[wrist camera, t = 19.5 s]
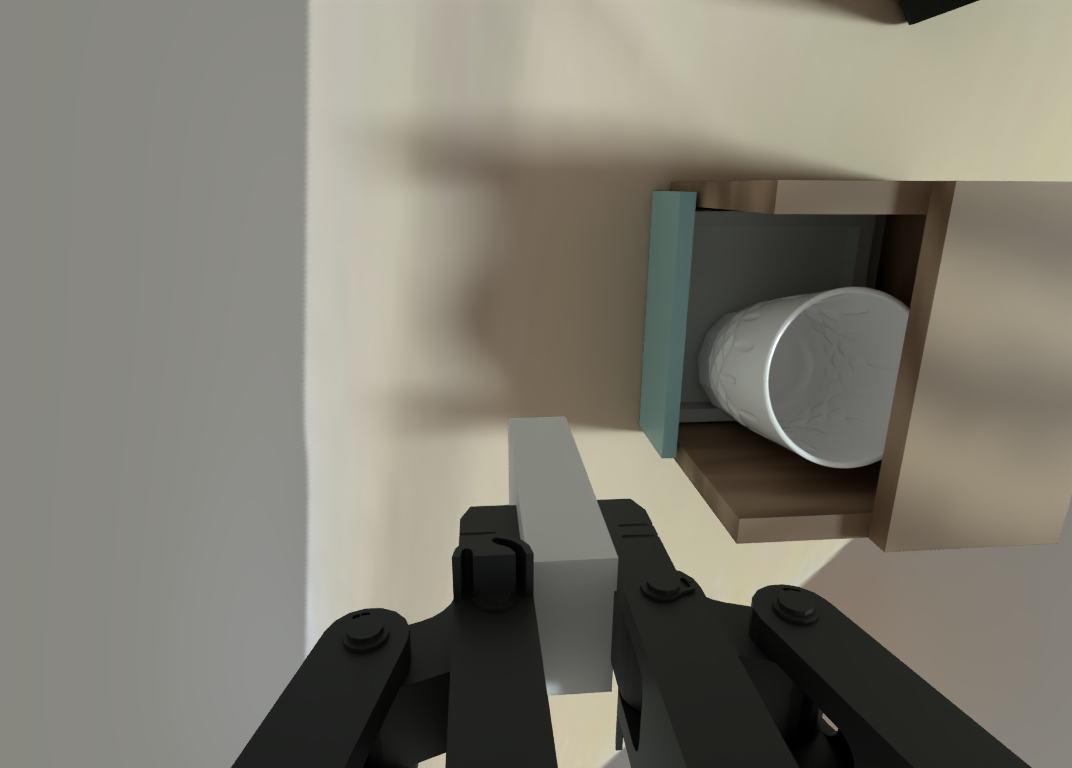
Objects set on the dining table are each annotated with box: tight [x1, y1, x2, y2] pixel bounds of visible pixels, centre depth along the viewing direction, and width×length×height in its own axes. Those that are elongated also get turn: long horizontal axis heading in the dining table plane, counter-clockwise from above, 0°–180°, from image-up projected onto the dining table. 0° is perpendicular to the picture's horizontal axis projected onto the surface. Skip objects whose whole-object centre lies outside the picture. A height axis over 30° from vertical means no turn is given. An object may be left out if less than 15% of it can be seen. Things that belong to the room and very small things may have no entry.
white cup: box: [697, 287, 910, 468], centre depth 32 cm, size 8×8×10 cm
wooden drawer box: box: [671, 180, 1072, 552], centre depth 32 cm, size 15×14×14 cm
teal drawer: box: [639, 191, 887, 458], centre depth 36 cm, size 14×13×5 cm
